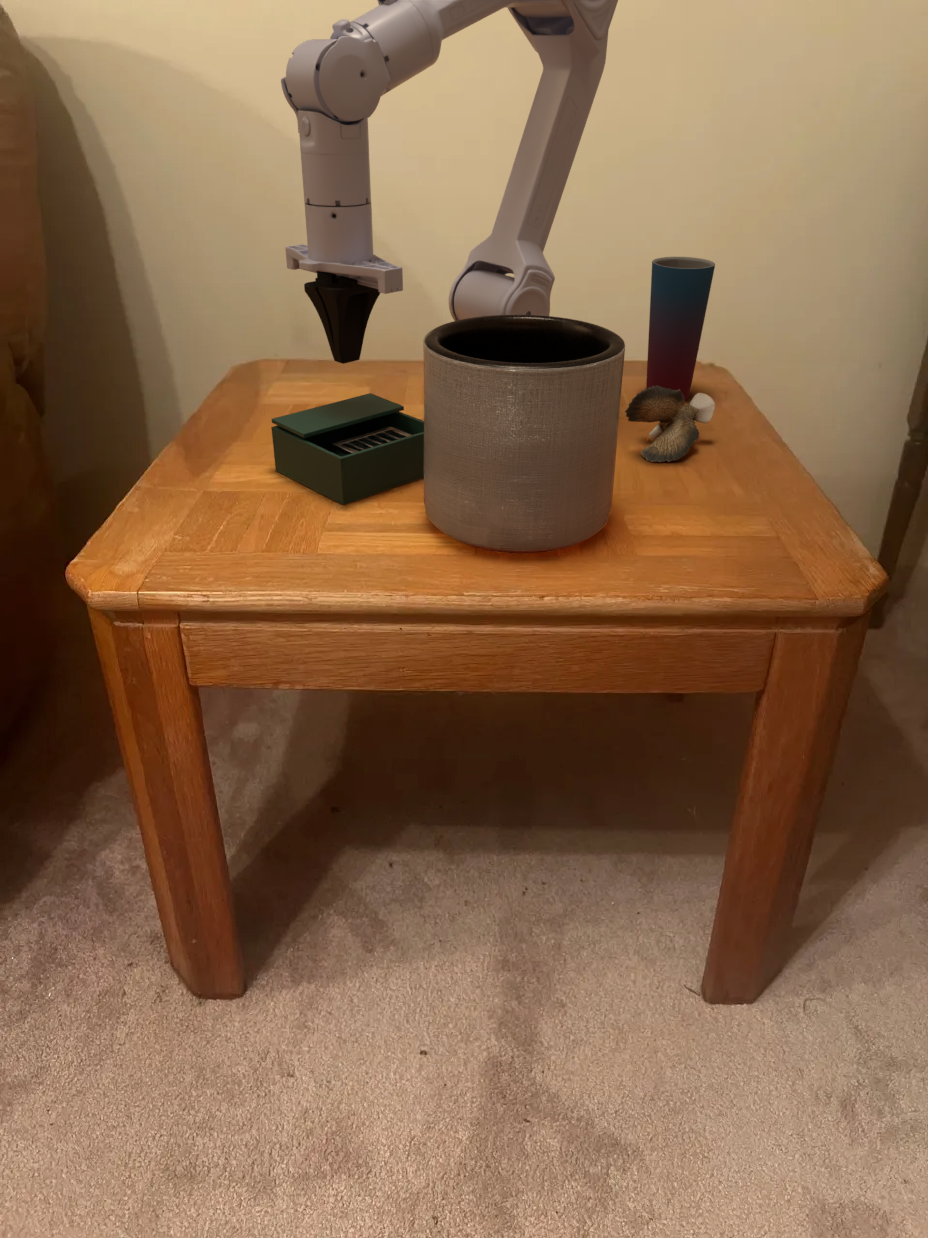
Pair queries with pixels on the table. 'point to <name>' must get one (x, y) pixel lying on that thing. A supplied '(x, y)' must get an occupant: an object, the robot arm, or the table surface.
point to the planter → (520, 430)
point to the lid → (337, 415)
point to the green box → (352, 459)
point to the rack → (367, 441)
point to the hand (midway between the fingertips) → (347, 360)
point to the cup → (676, 320)
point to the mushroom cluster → (670, 420)
